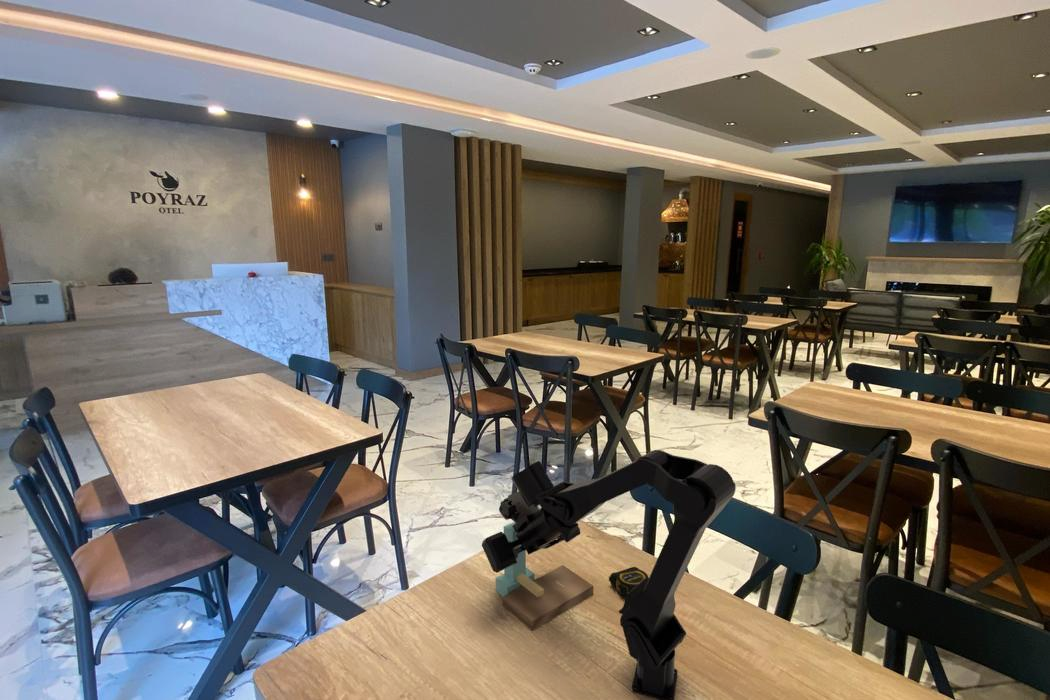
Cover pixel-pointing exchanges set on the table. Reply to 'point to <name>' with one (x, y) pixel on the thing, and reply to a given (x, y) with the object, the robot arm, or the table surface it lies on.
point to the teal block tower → (516, 571)
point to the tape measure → (627, 579)
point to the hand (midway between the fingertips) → (510, 552)
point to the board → (548, 597)
